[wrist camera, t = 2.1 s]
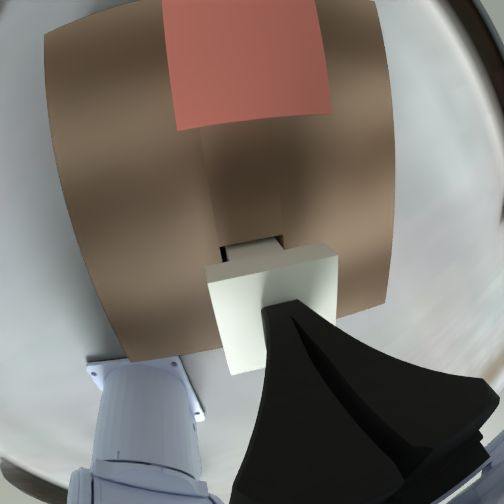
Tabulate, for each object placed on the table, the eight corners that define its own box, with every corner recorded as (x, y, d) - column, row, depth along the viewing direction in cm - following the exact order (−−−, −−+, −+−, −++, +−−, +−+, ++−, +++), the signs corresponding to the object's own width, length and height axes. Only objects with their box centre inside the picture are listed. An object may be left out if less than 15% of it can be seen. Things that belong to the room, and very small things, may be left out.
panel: (355, 274, 20) (384, 303, 17) (137, 322, 18) (130, 362, 15) (339, 20, 13) (374, 1, 9) (73, 51, 11) (44, 34, 7)
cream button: (294, 286, 16) (333, 348, 11) (216, 304, 15) (230, 375, 11) (289, 211, 14) (338, 254, 9) (200, 228, 13) (207, 283, 9)
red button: (279, 118, 12) (332, 113, 7) (183, 131, 11) (177, 130, 7) (268, 32, 10) (311, -13, 6) (171, 42, 10) (161, -7, 5)
